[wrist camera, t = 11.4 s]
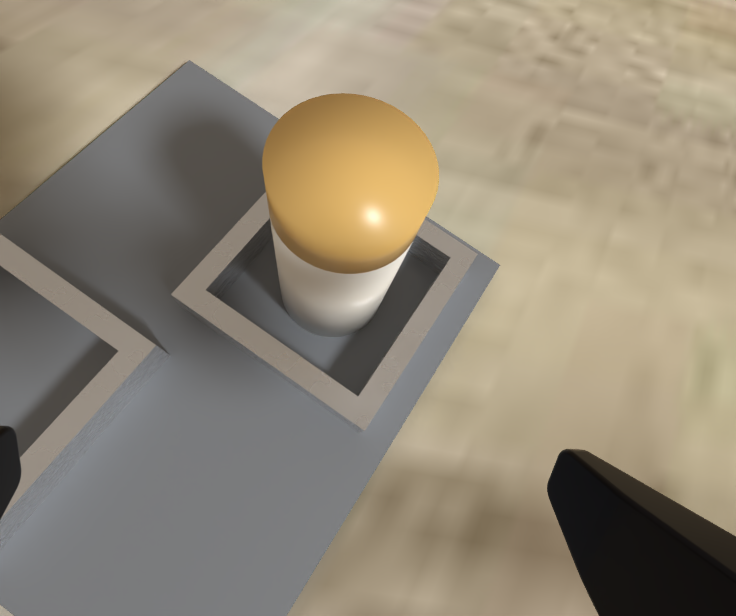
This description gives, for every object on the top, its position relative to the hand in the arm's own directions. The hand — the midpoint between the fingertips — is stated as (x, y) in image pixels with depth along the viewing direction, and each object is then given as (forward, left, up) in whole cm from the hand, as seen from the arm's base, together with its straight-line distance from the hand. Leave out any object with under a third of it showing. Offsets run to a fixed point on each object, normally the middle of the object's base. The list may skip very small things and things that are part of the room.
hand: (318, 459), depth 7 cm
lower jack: (+4, -7, -13) cm, 15 cm away
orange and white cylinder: (+4, -7, -13) cm, 15 cm away
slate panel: (+8, -1, -13) cm, 15 cm away
